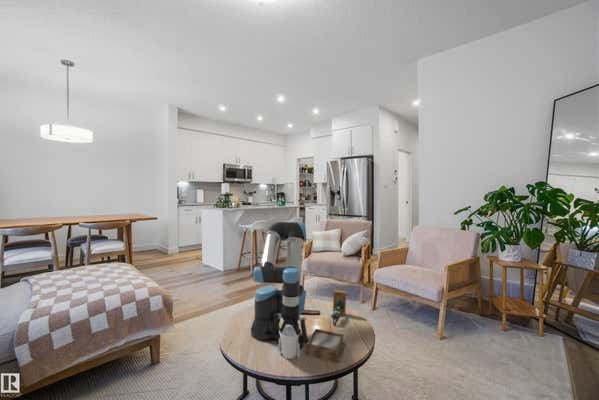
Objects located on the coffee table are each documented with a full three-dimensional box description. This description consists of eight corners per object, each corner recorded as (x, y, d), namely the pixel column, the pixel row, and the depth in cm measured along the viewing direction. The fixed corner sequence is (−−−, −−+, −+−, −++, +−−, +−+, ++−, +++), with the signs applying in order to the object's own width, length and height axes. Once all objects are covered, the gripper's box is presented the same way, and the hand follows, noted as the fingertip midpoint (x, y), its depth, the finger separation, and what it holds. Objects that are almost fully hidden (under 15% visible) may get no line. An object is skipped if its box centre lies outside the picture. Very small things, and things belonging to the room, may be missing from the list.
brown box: (304, 354, 119) (304, 343, 118) (313, 338, 132) (313, 328, 132) (339, 363, 113) (339, 351, 113) (345, 345, 126) (345, 334, 126)
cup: (298, 363, 112) (298, 338, 112) (275, 360, 114) (276, 335, 114) (302, 350, 122) (303, 327, 121) (281, 347, 124) (282, 324, 123)
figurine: (333, 312, 162) (346, 313, 160) (330, 326, 145) (345, 327, 143) (333, 289, 162) (346, 290, 160) (330, 300, 144) (345, 302, 143)
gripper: (265, 303, 117) (264, 352, 118) (310, 311, 110) (309, 364, 111) (273, 296, 124) (272, 343, 125) (315, 304, 117) (314, 354, 118)
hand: (289, 353), depth 118 cm, fingers closed on cup, 8 cm apart
